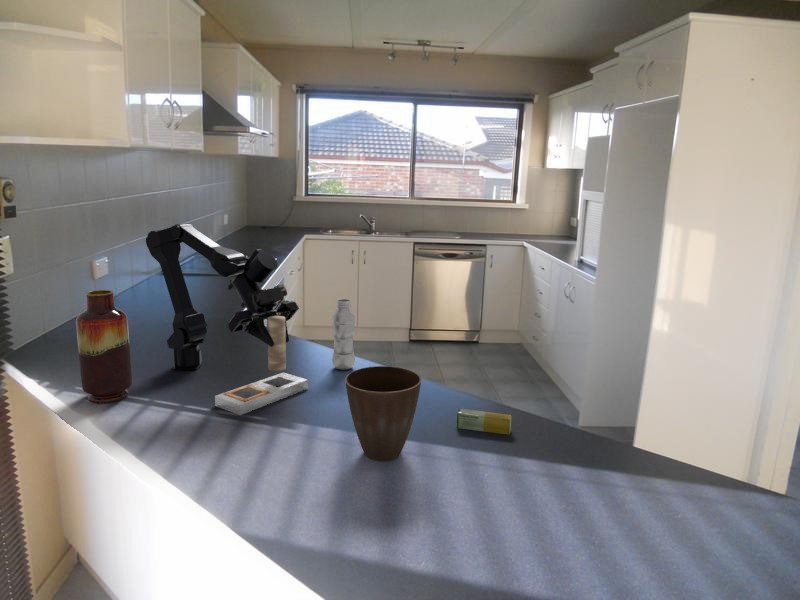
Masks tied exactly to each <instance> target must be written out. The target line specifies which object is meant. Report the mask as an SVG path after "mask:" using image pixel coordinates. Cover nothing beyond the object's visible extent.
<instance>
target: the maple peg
mask: <svg viewBox="0 0 800 600" xmlns="http://www.w3.org/2000/svg"><path fill="white" fill-rule="evenodd" d="M266 320H267V321H266V322H267V331H268V333H269V334H270V336H271V338H272V340H273V342H274V346H273V347H271V346H269V345H268V344H267V364H268V370H269V371H276V372H278V371H283V370H286V368H287V350H286V349H287V345H286V344H287V343H286V326H285V317H284V316H270V317H268V318H267V319H266Z"/></svg>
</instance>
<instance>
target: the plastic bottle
mask: <svg viewBox="0 0 800 600" xmlns="http://www.w3.org/2000/svg"><path fill="white" fill-rule="evenodd" d="M336 307H337V309H336V310H335V312H334V313H333V315H332V319H331V322H332V327H333V338H334V339H333V340H334V341H333V353H332V358H331V363H332V366H333V367H334V369H337V370H350V369H352V368H353V367H354V366H355V363H356V361H355V360H356V357H355V352H354V329H355V322H356V318H355V315H354V313H353V311H352V310H351V300H350V299H348V298H341V299H337V300H336Z"/></svg>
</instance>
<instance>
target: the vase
mask: <svg viewBox="0 0 800 600" xmlns="http://www.w3.org/2000/svg"><path fill="white" fill-rule="evenodd" d="M85 297H86V299H85V300H86V309H85V310H84V311H81V312H80V313H79V314H78V316H77V317H76V319H75V325H76V326H75V328H76V339H77V349H78V360H79V370H80V379H81V387H82V388H81V389H82V391H83V392H84V393H86V394H88V396H87V400H88V401H89V402H90V403H94V404H109V403H115V402H118V401H119V402H120V401H121V400H124V399H126V398H127V397H128V396H129V395H130V394H129V390H128V389H129V388H130V387H132V384H133V379H132V378H133V375H132V373H133V372H132V360H131V347H130V335H129V322H128V315H127V314H126V313H125V312H124V311H123V310H122V309H120V308H117V307H116V305H115V297H114V291H113V290H110V289H98V290H91V291H88V292H86V293H85ZM125 397H126V398H125Z"/></svg>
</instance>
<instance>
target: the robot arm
mask: <svg viewBox="0 0 800 600" xmlns="http://www.w3.org/2000/svg"><path fill="white" fill-rule="evenodd" d="M181 243H183V244H184V245H186V246H188V247H189V248H191V250H194V251H195V252H196V253H197V254H200V255H201V257H204V259H207V260H208V262H209V263H210V266H211V268H212V269H213V270H214V271H215V272H216V273H217V274H218V275H219V276H220V277H223V278H227V277H232V276H235V277H234V279H229V284H228V287H227V290H228V291H236V293H237V295H238V296H239V298H240V300H241V301H242V302H241V304H240V306H241V308H242V309H245V308H246V309H245V310H241V311H237V312H235V313H234V315H233V316H232V317H231V318H230V320H229V322H228V324H227V325H228V329H229V331H230V333H232V334H235V333H239V332H242V330H243V328H244V326H245V330H244V333H245V334H249V335H251V336H253V337H255V338H257V339H258V340H260V341H261V342H263V343H264V344H266V345H267V346H268V345H269V346H271V347H273V346H274V342H273V340H272V338H271V336H270V334H269V333H268V328H266V326H265V325H266V324H265V320H267V318H268V317H270V316H284V317H285V326H286V344H287V343H289V342H290V337H289V332H288V326H287V325H288V324H287V321H290V320H291V319H292V317H293V316H294V315H295V314H296V313H297V312H298V310H299V309H300V308H299V306H298V304H297V303H296V301H295V300H291V301H284V300H285V298H284V297H286V296H288V292H287V289H286V287H285V285H284V284H283V283H281V284H277V285H275V286H273V287H272V288H268V289H267V288H265V289H262V288H261V286H260V284H259V283H264V282H265V281H266V280H267V279H268V278H269V277H270V276H271V275H272V274H273V272H274V271H275V270H276V269H277V268H278V262H277V260H276V258H275V257H274V256H272V255H271V254H269V253H268V252H266V251H264V250H263V249H262V248H258V249H255V250H254V251H253V253H252V254H251V256H250V257H246V255H244V254H243V253H241V252H240V251H237V250H235V249H232V248H228V247H227V248H226V247H224V246H221V245H220V244H219V243H217V242H216V241H214V240H212V239H211V238H209V237H208V236H206V235H205V234H203V233H202V232H200V231H199V230H197V229H196V228H195V227H194V226H193V225H192V224H190V223H177V224H174V225H172V226H169V227H167V228H164V229H160V230H159V229H158V230H151V231H149V232H148V234H147V236H146V237H145V244H146V247H147V249H148V252H149V254H150V255H151V257H153V259H154V260H156V262H158V264H159V265H160V268H161V272H162V275H163V278H164V281H165V285H166V288H167V291H168V294H169V297H170V300H171V305H172V307H173V308H172V309H173V310H174V317H173V322H172V329H173V333H172V334H171V335H170V336H169V337H168V339H166V343H167V346H168V349H172V350H173V359H174V366H173V367H172V370H173V371H178V370H179V371H180V370H181V371H183V370H184V371H187V370H190V371H192V370H198V369H199V367H200V366H201V364H202V362H203V360H202V348H200V344H201V345H202V344H203V343H204V341H205V337H206V335H207V333H208V328H207V327H208V324H207V321H206V319H205V314H204V312H198V311H196V309H195V308H194V306H193V303H192V299H191V296H190V292H189V290H188V286H187V283H186V280H185V276H184V274H183V270H182V267H181V264H180V259H179V258H180V254H181V250H182V246H181ZM279 301H284V302H281V304H280V305H279V306H278V307H277V308H275V309H274V307H276V306H277V305H278V304H277V302H279Z"/></svg>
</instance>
